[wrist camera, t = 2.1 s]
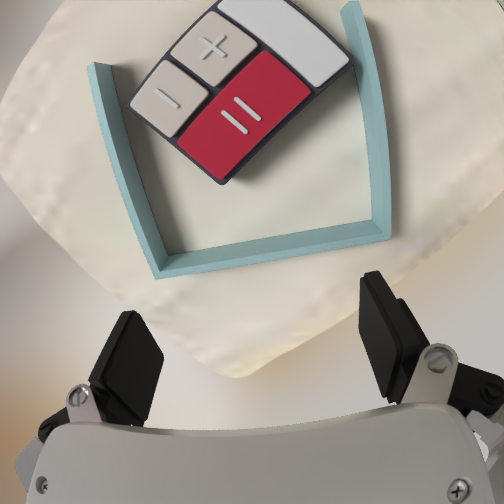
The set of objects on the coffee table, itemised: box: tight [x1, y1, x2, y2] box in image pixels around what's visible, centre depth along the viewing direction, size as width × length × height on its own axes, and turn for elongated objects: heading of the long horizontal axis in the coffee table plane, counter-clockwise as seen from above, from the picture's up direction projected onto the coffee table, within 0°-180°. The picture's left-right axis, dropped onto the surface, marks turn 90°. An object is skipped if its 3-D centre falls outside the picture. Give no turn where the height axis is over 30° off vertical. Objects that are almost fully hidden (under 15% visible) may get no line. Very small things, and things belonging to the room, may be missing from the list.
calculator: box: [127, 0, 355, 185], centre depth 18 cm, size 11×4×15 cm
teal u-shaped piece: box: [87, 1, 391, 280], centre depth 21 cm, size 23×21×3 cm
